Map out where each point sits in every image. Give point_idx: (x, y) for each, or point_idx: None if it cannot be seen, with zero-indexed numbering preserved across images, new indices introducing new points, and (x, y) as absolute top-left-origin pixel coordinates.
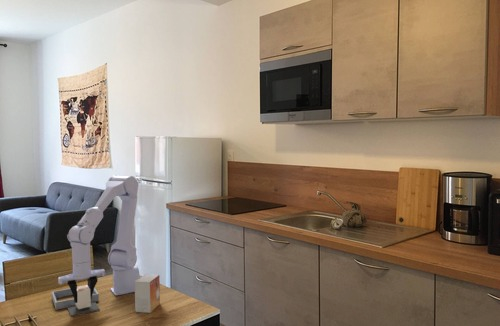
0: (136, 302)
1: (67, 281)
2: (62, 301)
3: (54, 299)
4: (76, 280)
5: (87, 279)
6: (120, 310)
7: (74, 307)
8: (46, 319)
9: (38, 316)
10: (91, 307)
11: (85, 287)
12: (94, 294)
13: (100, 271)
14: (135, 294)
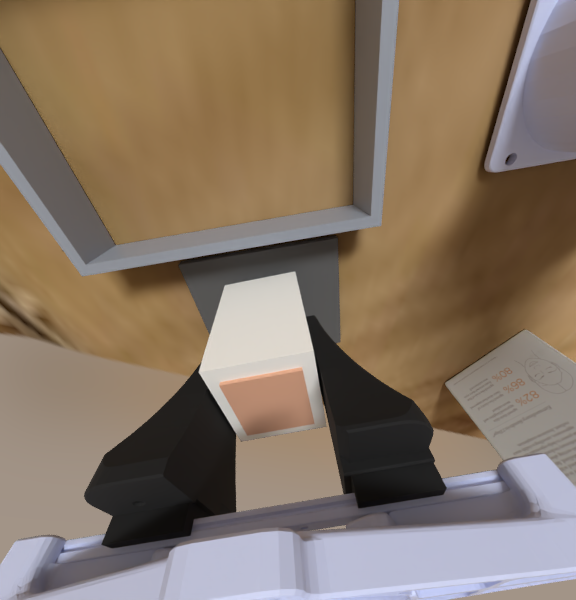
0: (471, 418)
1: (123, 550)
2: (127, 267)
3: (26, 199)
4: (217, 525)
5: (332, 418)
6: (409, 358)
7: (223, 285)
8: (117, 347)
9: (49, 307)
10: (309, 315)
11: (296, 406)
12: (351, 224)
13: (521, 585)
14: (497, 452)
